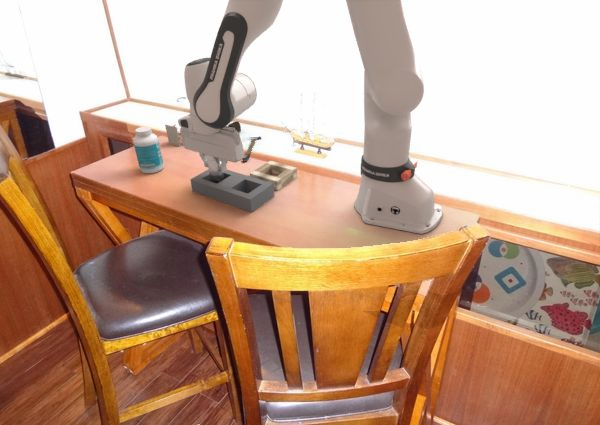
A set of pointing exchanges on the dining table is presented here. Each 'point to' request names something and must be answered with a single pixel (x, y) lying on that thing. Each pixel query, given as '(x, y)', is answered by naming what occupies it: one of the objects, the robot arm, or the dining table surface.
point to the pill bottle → (148, 150)
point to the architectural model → (173, 135)
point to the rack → (234, 189)
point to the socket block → (282, 170)
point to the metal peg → (214, 169)
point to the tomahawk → (250, 148)
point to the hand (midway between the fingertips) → (215, 168)
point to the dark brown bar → (235, 126)
